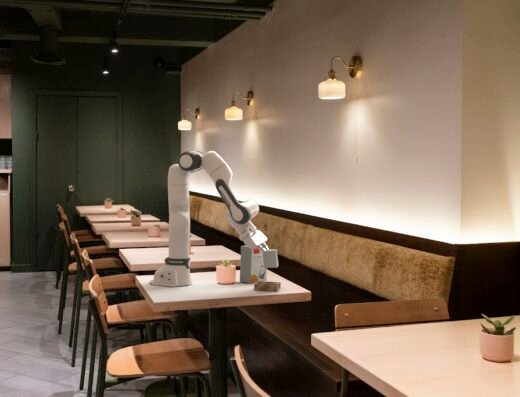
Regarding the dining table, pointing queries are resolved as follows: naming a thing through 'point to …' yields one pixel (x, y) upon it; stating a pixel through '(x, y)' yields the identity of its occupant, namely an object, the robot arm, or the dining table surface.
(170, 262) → the robot arm
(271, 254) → the gray rectangular block
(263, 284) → the walnut box
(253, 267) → the hard drive box
